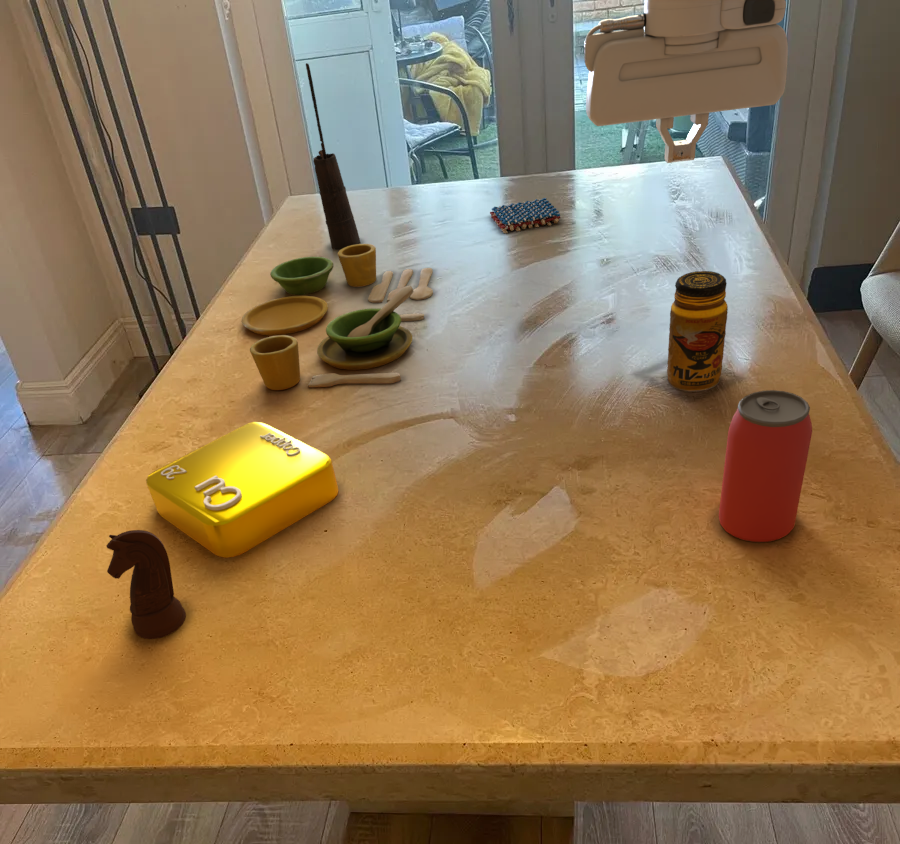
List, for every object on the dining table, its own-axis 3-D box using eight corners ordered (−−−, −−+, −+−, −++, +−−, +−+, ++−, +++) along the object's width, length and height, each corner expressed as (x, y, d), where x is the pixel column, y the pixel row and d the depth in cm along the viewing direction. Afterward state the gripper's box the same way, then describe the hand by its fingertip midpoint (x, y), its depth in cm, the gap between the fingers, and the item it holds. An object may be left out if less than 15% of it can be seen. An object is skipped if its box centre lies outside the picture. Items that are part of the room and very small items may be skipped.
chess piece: (130, 619, 77) (87, 530, 70) (185, 598, 78) (147, 509, 72) (141, 648, 74) (97, 558, 67) (198, 625, 75) (160, 535, 69)
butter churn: (321, 238, 154) (284, 58, 135) (373, 233, 153) (343, 51, 134) (313, 256, 147) (273, 69, 129) (367, 250, 146) (334, 61, 128)
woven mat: (488, 218, 152) (487, 206, 150) (545, 208, 152) (545, 196, 151) (501, 235, 144) (500, 223, 142) (562, 225, 145) (561, 212, 143)
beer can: (763, 496, 80) (781, 379, 72) (810, 532, 75) (835, 411, 68) (703, 516, 79) (715, 400, 71) (747, 555, 74) (764, 434, 66)
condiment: (690, 402, 95) (699, 296, 87) (640, 376, 101) (644, 275, 93) (738, 380, 97) (751, 276, 89) (686, 357, 103) (694, 257, 95)
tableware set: (402, 390, 105) (394, 341, 101) (192, 400, 109) (176, 355, 105) (442, 267, 136) (437, 226, 131) (276, 280, 140) (266, 240, 136)
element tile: (347, 494, 88) (338, 454, 85) (227, 565, 81) (212, 525, 78) (266, 450, 97) (255, 413, 94) (151, 511, 90) (135, 473, 87)
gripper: (589, 26, 82) (588, 179, 91) (803, -2, 81) (781, 156, 90) (579, 17, 87) (580, 164, 96) (781, -9, 86) (762, 142, 95)
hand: (679, 160), depth 93 cm, fingers closed
